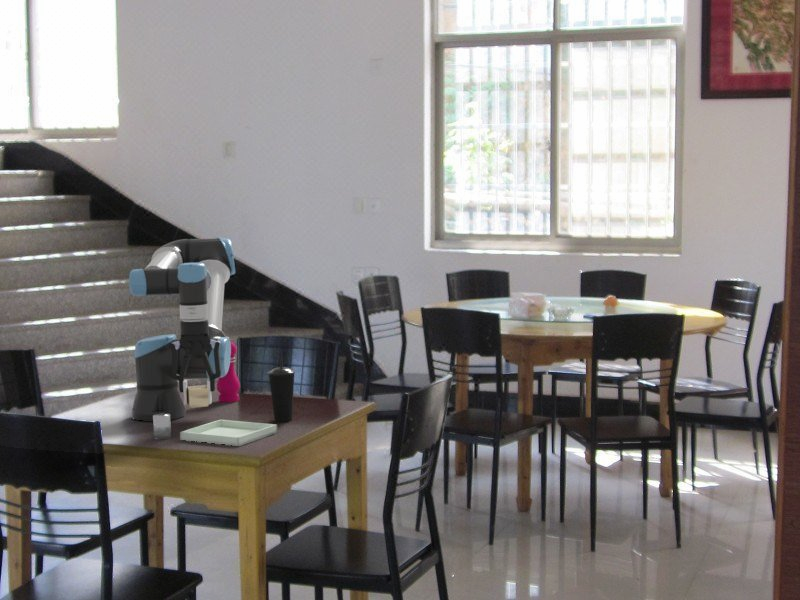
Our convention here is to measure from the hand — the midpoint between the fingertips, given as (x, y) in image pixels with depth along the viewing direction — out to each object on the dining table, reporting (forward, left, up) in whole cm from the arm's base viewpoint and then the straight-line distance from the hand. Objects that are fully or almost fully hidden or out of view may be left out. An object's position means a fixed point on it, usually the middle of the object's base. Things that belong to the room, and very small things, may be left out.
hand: (198, 403), depth 299 cm
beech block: (0, 0, -1) cm, 1 cm away
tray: (+16, -8, -6) cm, 19 cm away
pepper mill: (-16, +34, -7) cm, 38 cm away
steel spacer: (0, -16, -6) cm, 17 cm away
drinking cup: (+17, +15, -6) cm, 24 cm away
